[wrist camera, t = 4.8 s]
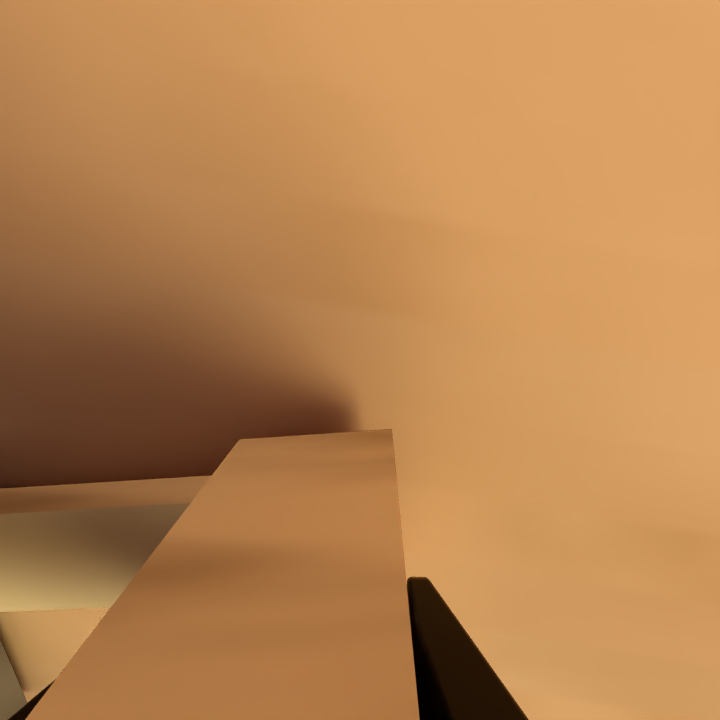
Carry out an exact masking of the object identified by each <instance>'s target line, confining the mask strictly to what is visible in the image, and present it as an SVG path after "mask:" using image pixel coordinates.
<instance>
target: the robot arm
mask: <svg viewBox="0 0 720 720" xmlns="http://www.w3.org/2000/svg"><path fill="white" fill-rule="evenodd" d="M407 594H408V604H409V615H410V625H411V636H412V646H413V657H414V667H415V677H416V688H417V698H418V709H419V719H420V720H528V718H527V717H526V715H525V714H524V712H523V711H522V710H521V708H520V707H519V705H518V704H517V703H516V701H515V700H514V698H513V697H512V696H511V694H510V693H509V691H508V690H507V689H506V687H505V686H504V684H503V683H502V682H501V680H500V679H499V677H498V676H497V674H496V673H495V672H494V670H493V669H492V667H491V666H490V665H489V663H488V662H487V660H486V659H485V658H484V656H483V655H482V653H481V652H480V651H479V649H478V648H477V646H476V645H475V644H474V642H473V641H472V639H471V638H470V636H469V635H468V634H467V632H466V631H465V629H464V628H463V627H462V625H461V624H460V622H459V621H458V620H457V618H456V617H455V615H454V614H453V613H452V611H451V610H450V608H449V607H448V605H447V604H446V603H445V601H444V600H443V598H442V597H441V596H440V594H439V593H438V591H437V590H436V589H435V587H434V586H433V584H432V583H431V582H430V580H429V579H428V578H426V577H410V578H408V580H407ZM55 680H56V679H55ZM55 680H54V681H55ZM54 681H53V682H52V683H51V684H49V685H48V686H47V687H46V688H45V689H43V690H42V691H41V692H40V693H39V694H38V695H36V696H35V697H34V698H33V699H32V700H30V701H29V702H28V703H27V704H26V705H24V706H23V707H22V708H21V709H20V710H18V711H17V712H16V713H15V714H14V715H12V716H11V717H10V718H9V719H8V720H25V719H26V718H27V717H28V715H29V714H30V713H31V711H32V710H33V709H34V707H35V706H36V705H37V703H38V702H39V701H40V700H41V698H42V697H43V696H44V694H45V693H46V692H47V690H48V689H49V688H50V686H51V685H52V684H53V683H54Z"/></svg>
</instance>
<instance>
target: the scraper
mask: <svg viewBox="0 0 720 720" xmlns="http://www.w3.org/2000/svg"><path fill="white" fill-rule="evenodd" d="M109 607H111V608H110V609H109V611H108V612H107V613H106V615H105V616H104V617H103V618H102V620H101V621H100V622H99V624H98V625H97V626H96V628H95V629H94V630H93V632H92V633H91V634H90V635H89V637H88V638H87V639H86V641H85V642H84V643H83V645H82V646H81V647H80V649H79V650H78V651H77V652H76V654H75V655H74V656H73V658H72V659H71V660H70V662H69V663H68V664H67V666H66V667H65V668H64V669H63V671H62V672H61V673H60V675H59V676H58V677H57V679H56V680H55V681H54V683H53V684H52V685H51V686H50V688H49V689H48V690H47V692H46V693H45V694H44V696H43V697H42V698H41V700H40V701H39V702H38V703H37V705H36V706H35V707H34V709H33V710H32V711H31V713H30V714H29V715H28V717H27V718H26V719H25V720H420V719H419V709H418V698H417V688H416V677H415V667H414V657H413V646H412V636H411V625H410V615H409V604H408V594H407V583H406V573H405V562H404V552H403V542H402V531H401V521H400V510H399V500H398V489H397V479H396V468H395V458H394V448H393V437H392V429H384V430H370V431H355V432H341V433H326V434H311V435H297V436H282V437H268V438H253V439H239V440H238V442H237V443H236V444H235V446H234V447H233V448H232V450H231V451H230V452H229V454H228V455H227V456H226V457H225V459H224V460H223V461H222V463H221V464H220V465H219V467H218V468H217V469H216V471H215V472H214V473H213V475H210V476H194V477H178V478H162V479H146V480H130V481H114V482H98V483H82V484H66V485H50V486H34V487H18V488H3V489H0V612H11V611H35V610H60V609H85V608H109ZM26 704H27V701H26V698H25V696H24V694H23V691H22V689H21V687H20V684H19V682H18V680H17V677H16V675H15V673H14V670H13V668H12V666H11V663H10V661H9V659H8V656H7V654H6V652H5V650H4V647H3V645H2V643H1V640H0V720H8V719H9V718H10V717H11V716H12V715H14V714H15V713H16V712H17V711H18V710H20V709H21V708H22V707H23V706H24V705H26Z"/></svg>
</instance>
